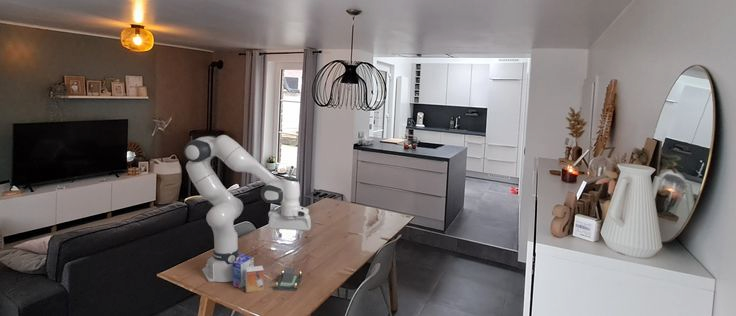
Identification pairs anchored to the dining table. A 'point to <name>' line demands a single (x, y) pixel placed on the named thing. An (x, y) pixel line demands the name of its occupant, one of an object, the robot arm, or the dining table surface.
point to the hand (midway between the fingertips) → (289, 237)
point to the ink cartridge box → (241, 270)
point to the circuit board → (288, 277)
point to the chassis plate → (288, 288)
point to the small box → (254, 279)
